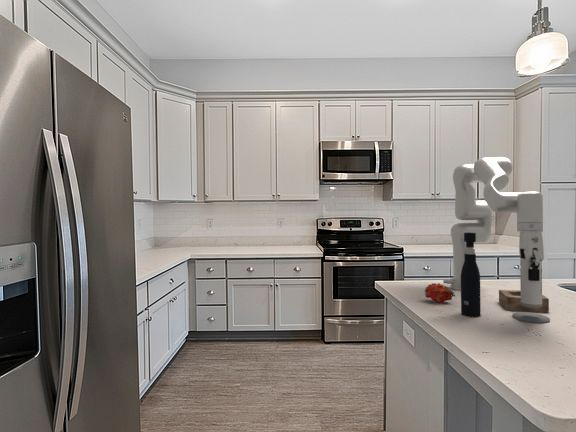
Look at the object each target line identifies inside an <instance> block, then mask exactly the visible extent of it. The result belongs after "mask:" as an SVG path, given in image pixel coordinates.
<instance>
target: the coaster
mask: <svg viewBox="0 0 576 432" xmlns="http://www.w3.org/2000/svg"><path fill="white" fill-rule="evenodd" d="M511 316H512V318H513V319H514V320H516V321H521V322H525V323H531V324H547V323H550V322H551V318H550V317H549V316H546V315H544V314H540V313H534V312H529V311H517V312H514V313H512V314H511Z"/></svg>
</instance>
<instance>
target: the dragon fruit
mask: <svg viewBox="0 0 576 432" xmlns="http://www.w3.org/2000/svg"><path fill="white" fill-rule="evenodd" d="M424 292H425V298H426V299H427V298H428V299H431V300H432V302H433V303H436V302H438V303H441V304H448V301H452V298H453V297H456V295H455V293H454V292H453V291H452V290H451V289H449V288H448V287H447V286H445V285H444V283H443V284H441V283H436V282H435V283H433V282H432V283H431V284H428V285H427V286H426V287H425V289H424Z"/></svg>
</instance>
